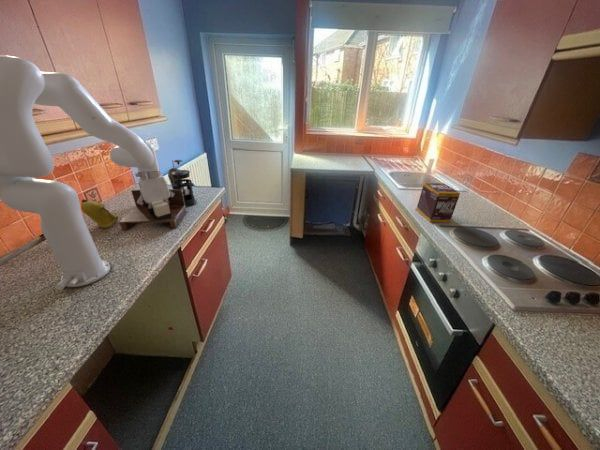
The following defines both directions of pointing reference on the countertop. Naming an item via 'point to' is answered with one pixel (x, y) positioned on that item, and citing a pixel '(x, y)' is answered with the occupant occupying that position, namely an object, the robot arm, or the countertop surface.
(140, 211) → the shoe shelf
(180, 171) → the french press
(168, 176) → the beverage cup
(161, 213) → the beige cuboid
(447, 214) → the supplement box
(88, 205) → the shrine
